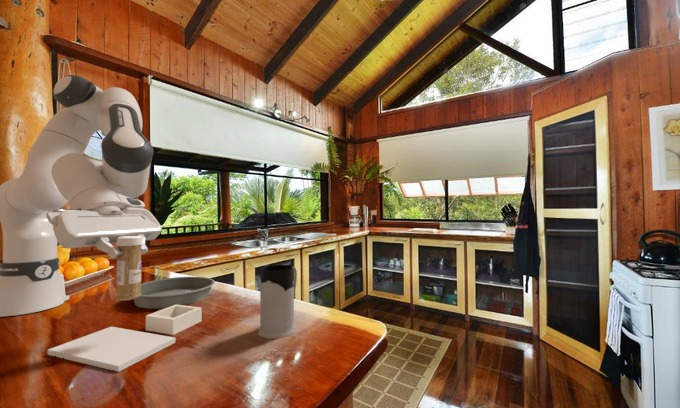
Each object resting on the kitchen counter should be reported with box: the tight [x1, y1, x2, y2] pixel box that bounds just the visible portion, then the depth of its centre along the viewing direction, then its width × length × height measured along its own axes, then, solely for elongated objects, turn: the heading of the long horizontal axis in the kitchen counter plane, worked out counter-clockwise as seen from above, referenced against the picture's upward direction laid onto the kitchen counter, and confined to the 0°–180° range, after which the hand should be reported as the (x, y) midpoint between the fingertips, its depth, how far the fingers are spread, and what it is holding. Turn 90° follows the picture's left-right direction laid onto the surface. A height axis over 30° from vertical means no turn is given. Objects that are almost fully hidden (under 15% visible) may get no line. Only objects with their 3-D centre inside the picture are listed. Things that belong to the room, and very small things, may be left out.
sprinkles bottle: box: [115, 236, 142, 302], centre depth 63 cm, size 5×5×14 cm
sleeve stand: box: [145, 304, 203, 336], centre depth 72 cm, size 9×9×4 cm
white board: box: [47, 326, 176, 373], centre depth 60 cm, size 20×12×1 cm, turn 72°
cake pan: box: [133, 276, 216, 310], centre depth 96 cm, size 25×25×4 cm
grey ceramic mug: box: [258, 264, 298, 340], centre depth 72 cm, size 9×14×15 cm, turn 162°
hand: (131, 254), depth 63 cm, fingers closed on sprinkles bottle, 4 cm apart
